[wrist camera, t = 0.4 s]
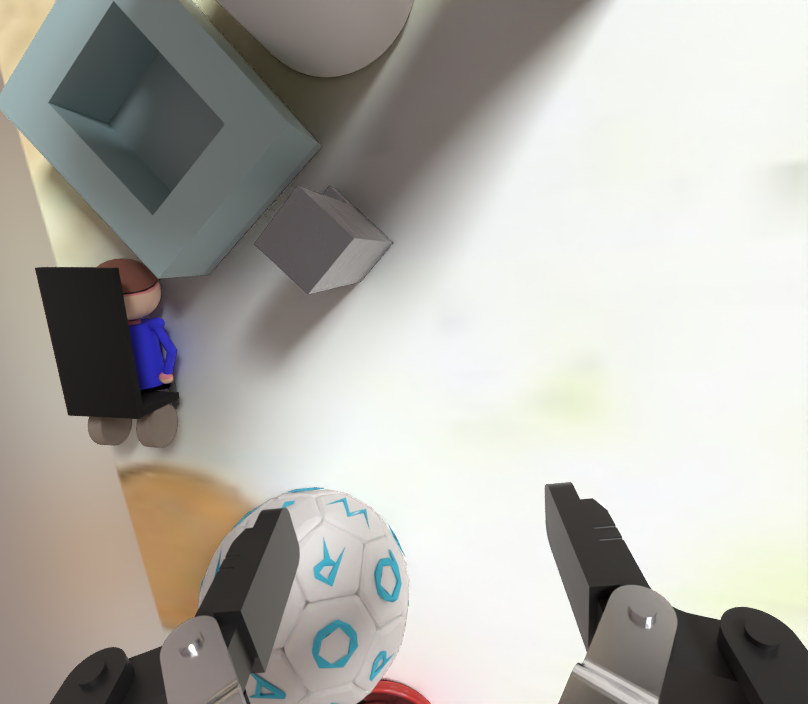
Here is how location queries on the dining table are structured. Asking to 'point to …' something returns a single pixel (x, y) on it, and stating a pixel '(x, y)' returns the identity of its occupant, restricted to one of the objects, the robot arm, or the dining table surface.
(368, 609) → the puzzle ball
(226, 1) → the cylinder vase
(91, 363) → the figurine character
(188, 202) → the well block
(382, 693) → the plant pot
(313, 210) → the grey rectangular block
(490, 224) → the dining table surface
